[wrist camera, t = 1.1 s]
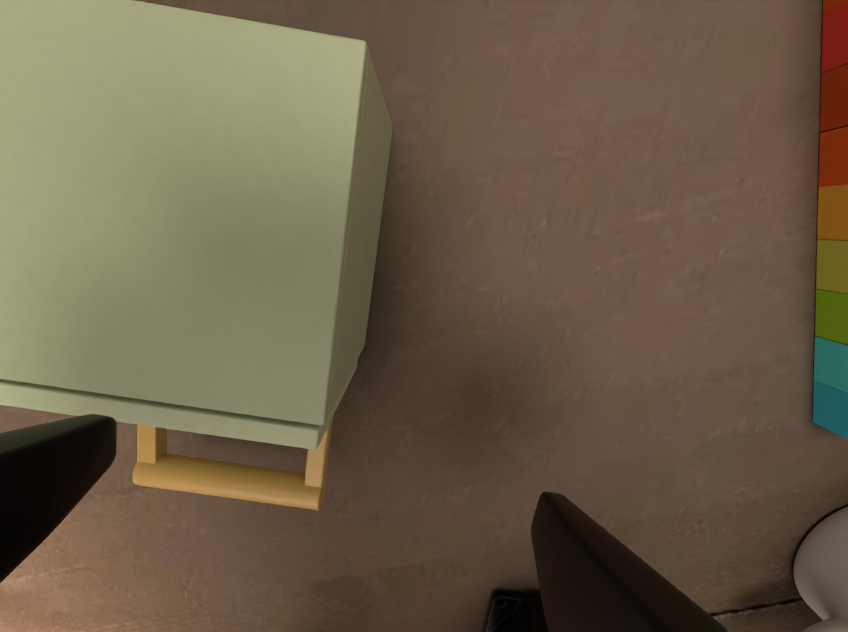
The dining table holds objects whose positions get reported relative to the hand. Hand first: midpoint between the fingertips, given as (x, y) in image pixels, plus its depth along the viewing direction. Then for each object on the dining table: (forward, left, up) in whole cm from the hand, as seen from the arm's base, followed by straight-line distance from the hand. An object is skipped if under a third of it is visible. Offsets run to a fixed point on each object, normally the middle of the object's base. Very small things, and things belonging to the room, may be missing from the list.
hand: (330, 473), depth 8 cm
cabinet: (+4, +9, -13) cm, 16 cm away
